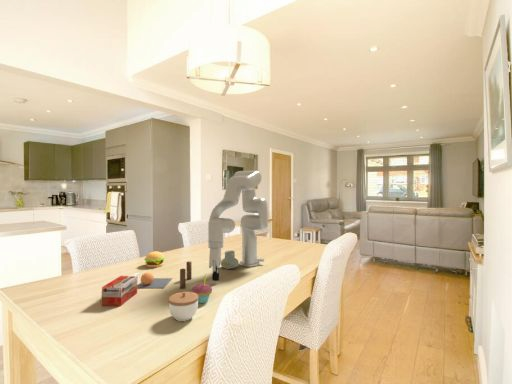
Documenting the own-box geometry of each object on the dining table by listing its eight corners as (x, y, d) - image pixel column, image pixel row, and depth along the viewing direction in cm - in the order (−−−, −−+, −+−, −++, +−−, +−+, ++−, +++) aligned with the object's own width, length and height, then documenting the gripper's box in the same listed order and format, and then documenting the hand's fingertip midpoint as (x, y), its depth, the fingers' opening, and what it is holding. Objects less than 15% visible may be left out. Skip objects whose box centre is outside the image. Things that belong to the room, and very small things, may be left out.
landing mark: (172, 278, 144) (172, 278, 144) (163, 288, 130) (163, 287, 130) (145, 278, 144) (145, 278, 144) (134, 288, 130) (134, 287, 130)
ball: (150, 285, 138) (157, 275, 138) (146, 289, 132) (153, 279, 132) (141, 278, 138) (148, 268, 138) (136, 282, 132) (143, 271, 132)
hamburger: (168, 263, 174) (168, 250, 174) (159, 268, 163) (159, 254, 162) (150, 262, 176) (150, 249, 176) (140, 268, 164) (140, 253, 164)
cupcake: (215, 298, 118) (215, 271, 118) (205, 306, 110) (205, 277, 110) (198, 296, 121) (198, 269, 121) (187, 303, 113) (187, 274, 113)
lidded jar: (172, 311, 106) (172, 287, 106) (200, 310, 107) (200, 287, 106) (165, 325, 95) (165, 298, 95) (196, 324, 96) (196, 297, 96)
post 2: (191, 278, 145) (192, 261, 145) (190, 279, 143) (190, 262, 143) (187, 278, 145) (187, 261, 145) (185, 279, 143) (185, 262, 143)
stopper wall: (139, 277, 146) (139, 272, 146) (124, 289, 128) (124, 284, 128) (135, 277, 146) (135, 272, 146) (119, 289, 128) (119, 284, 128)
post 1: (186, 286, 132) (186, 268, 132) (184, 288, 130) (184, 270, 130) (180, 286, 132) (180, 268, 132) (179, 288, 130) (179, 270, 130)
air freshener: (240, 267, 166) (240, 251, 166) (234, 271, 159) (234, 253, 159) (225, 265, 171) (225, 249, 171) (218, 268, 164) (218, 252, 163)
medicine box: (120, 307, 110) (120, 287, 110) (101, 306, 110) (101, 287, 110) (138, 292, 125) (138, 275, 125) (120, 292, 125) (120, 275, 125)
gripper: (210, 241, 145) (210, 275, 145) (205, 247, 130) (205, 285, 130) (224, 241, 145) (224, 275, 145) (221, 247, 130) (221, 285, 130)
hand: (215, 280), depth 138 cm, fingers closed
